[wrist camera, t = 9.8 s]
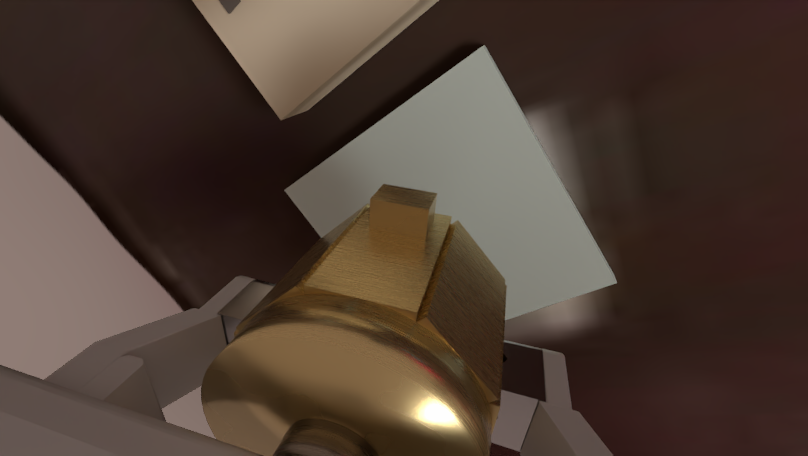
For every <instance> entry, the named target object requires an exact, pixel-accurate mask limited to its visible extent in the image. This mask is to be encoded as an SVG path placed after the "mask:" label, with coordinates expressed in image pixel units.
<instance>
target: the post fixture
mask: <svg viewBox="0 0 808 456" xmlns="http://www.w3.org/2000/svg"><path fill="white" fill-rule="evenodd" d="M192 1H193V2H194V4H195V5H196V6H197V8H198V9H199V10H200V12H201V13H202V14H203V16H204V17H205V19H206V20H207V21H208V23H209V24H210V25H211V27H212V28H213V29H214V31H215V32H216V33H217V35H218V36H219V37H220V39H221V40H222V41H223V43H224V44H225V46H226V47H227V48H228V50H229V51H230V52H231V54H232V55H233V56H234V58H235V59H236V60H237V62H238V63H239V64H240V66H241V67H242V68H243V70H244V71H245V73H246V74H247V75H248V77H249V78H250V79H251V81H252V82H253V83H254V85H255V86H256V87H257V89H258V90H259V91H260V93H261V94H262V95H263V97H264V98H265V100H266V101H267V102H268V104H269V105H270V106H271V108H272V109H273V110H274V112H275V113H276V114H277V116H278V117H279V118H280V120H283V119H286V118H289V117H291V116H294V115H297V114H300V113H302V112H305V111H308V110H309V109H310V108H311V107H313V106H314V105H315V104H316V103H317V102H319V101H320V100H321V99H322V98H323V97H324V96H326V95H327V94H328V93H329V92H330V91H332V90H333V89H334V88H335V87H336V86H338V85H339V84H340V83H341V82H342V81H344V80H345V79H346V78H347V77H348V76H349V75H351V74H352V73H353V72H354V71H355V70H357V69H358V68H359V67H360V66H361V65H363V64H364V63H365V62H366V61H367V60H368V59H370V58H371V57H372V56H373V55H374V54H376V53H377V52H378V51H379V50H380V49H382V48H383V47H384V46H385V45H386V44H388V43H389V42H390V41H391V40H392V39H393V38H395V37H396V36H397V35H398V34H399V33H401V32H402V31H403V30H404V29H405V28H407V27H408V26H409V25H410V24H411V23H413V22H414V21H415V20H416V19H417V18H418V17H420V16H421V15H422V14H423V13H424V12H426V11H427V10H428V9H429V8H430V7H432V6H433V5H434V4H435V3H436V2H437V1H439V0H192Z"/></svg>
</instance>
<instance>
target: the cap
mask: <svg viewBox="0 0 808 456" xmlns="http://www.w3.org/2000/svg"><path fill="white" fill-rule="evenodd" d="M436 200H437V193H433V192H427V191H422V190H416V189H410V188H405V187H399V186H393V185H388V184H383V185H382V186H381V187H380V188H379V189H378V191H377V192H376V193H375V194H374V195H373V196H372V197H371V198H370V205H369V204H368V203H367V204H366V205H365V206H363V207H362V208H361V209H359V210H358V211H357V212H355V213H354V214H353V215H351V216H350V217H349V218H347V219H346V220H345V221H343V222H342V223H341V224H339V225H338V226H337V227H335V228H334V229H333V230H331V231H330V232H329V233H327V234H326V235H325V236H323V237H322V238H321V239H319V240H318V241H317V242H316V243H315V244H314V245H313V246H312V247H311V249H310V250H309V251H308V252H307V253H306V254H305V255H304V256H303V257H302V258H301V259H300V260H299V261H298V262H297V263H296V264H295V265H294V266H293V267H292V268H291V270H290V271H289V272H288V273H287V274H286V275H285V276H284V277H283V278H282V279H281V280H280V281H279V282H278V283H277V284H276V285H275V286H274V287H273V288H272V290H271V291H270V292H269V293H268V294H267V295H266V296H265V297H264V298H263V299H262V300H261V301H260V302H259V303H258V304H257V305H256V306H255V307H254V308H253V309H252V311H251V312H250V313H249V314H248V315H247V316H246V317H245V318H244V319H243V320H242V321H241V322H240V323H239V324H238V325H237V326H236V327H235V328H236V331H235V332H234V338H233V339H232V341H231V342H230V343H229V344H228V345H227V346H226V347H225V348H224V349H223V350H222V351H221V352H220V353H219V355H218V356H217V357H216V358H215V359H214V360H213V362H212V363H211V364H210V365H209V367H208V368H207V370H206V373H205V375H204V377H203V382H202V387H201V400H202V405H203V410H204V414H205V416H206V419H207V422H208V424H209V426H210V428H211V430H212V432H213V434H214V436H215V437H216V439H217V440H220V441H223V442H226V443H229V444H231V445H234V446H237V447H240V448H243V449H246V450H249V451H252V452H255V453H258V454H261V455H264V456H490V449H491V436H492V432H493V429H494V426H495V422H496V419H497V416H498V413H499V409H500V402H501V383H502V364H503V345H504V327H505V308H506V289H507V285H505V279H504V277H503V276H502V275H501V274H500V272H499V271H498V270H497V268H496V267H495V266H494V265H493V263H492V262H491V261H490V260H489V258H488V257H487V256H486V255H485V253H484V252H483V251H482V250H481V248H480V247H479V246H478V245H477V243H476V242H475V241H474V239H473V238H472V237H471V236H470V234H469V233H468V232H467V231H466V229H465V228H464V227H463V226H462V224H461V223H460V222H459V221H458V220H457V221H455V222H454V223H452V224H451V220H452V216H447V215H442V214H437V213H435V207H436Z"/></svg>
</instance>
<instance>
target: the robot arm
mask: <svg viewBox="0 0 808 456" xmlns="http://www.w3.org/2000/svg"><path fill="white" fill-rule="evenodd" d="M275 285H276V284H273V283H269V282H266V281H262V280H258V279H253V278H249V277H246V276H242V275H241V276H238V277H235V278H234V279H233V280H232V281H231V282H230V283H229V284H227V285H226V286H225V287H224V288H223V289H222V290H220V291H219V292H218V293H217V294H216V295H215V296H214V297H212V298H211V299H210V300H209V301H208V302H207V303H205V304H204V305H203V306H202V307H201V308H200V309H196V308H193V309H190V310H187V311H184V312H181V313H178V314H175V315H173V316H170V317H167V318H164V319H161V320H158V321H155V322H152V323H149V324H146V325H144V326H141V327H138V328H135V329H132V330H129V331H126V332H123V333H121V334H117V335H114V336H112V337H109V338H106V339H103V340H101V341H97V342H95V343H93V344H92V345H90V346H89V347H88V348H86V349H85V350H84V351H83V352H81V353H80V354H78V355H77V356H76V357H74V358H73V359H71V360H70V361H69V362H67V363H66V364H65V365H63V366H62V367H61V368H59V369H58V370H57V371H55V372H54V373H52V374H51V375H50V376H48V377H47V378H46V379H44V380H42V379H40V378H37V377H34V376H31V375H27V374H25V373H22V372H19V371H16V370H13V369H11V368H8V367H5V366H2V365H0V456H264V455H261V454H258V453H255V452H252V451H249V450H246V449H243V448H240V447H237V446H234V445H231V444H229V443H226V442H223V441H220V440H217V439H214V438H211V437H208V436H205V435H202V434H199V433H197V432H194V431H191V430H188V429H185V428H182V427H179V426H176V425H173V424H170V423H167V422H166V420H165V417H164V415H163V412H162V410H161V409H162V408H164V407H165V406H167V405H168V404H170V403H172V402H174V401H176V400H177V399H179V398H181V397H183V396H184V395H186V394H188V393H189V392H191V391H193V390H195V389H196V388H198V387H200V386H201V385H202V382H203V377H204V375H205V373H206V370H207V368H208V367H209V365H210V364H211V363H212V362H213V360H214V359H215V358H216V357H217V356H218V355H219V353H220V352H221V351H222V350H223V349H224V348H225V347H226V346H227V345H228V344H229V343H230V342H231V341H232V339H233V338H234V332H235V331H236V328H235V327H236V326H237V325H238V324H239V323H240V322H241V321H242V320H243V319H244V318H245V317H246V316H247V315H248V314H249V313H250V312H251V311H252V309H253V308H254V307H255V306H256V305H257V304H258V303H259V302H260V301H261V300H262V299H263V298H264V297H265V296H266V295H267V294H268V293H269V292H270V291H271V290H272V288H273V287H274V286H275ZM491 443H494V444H498V445H501V446H504V447H507V448H510V449H513V450H516V451H519V452H520V455H521V456H613V454H612V453H611V452H610V451H609V449H608V448H607V447H606V446H605V444H604V443H603V442H602V440H601V439H600V438H599V437H598V435H597V434H596V433H595V432H594V430H593V429H592V428H591V426H590V425H589V424H588V423H587V421H586V420H585V419H584V418H583V416H582V415H581V414H580V412H578V411H574V410H572V405H571V398H570V391H569V384H568V377H567V370H566V363H565V356H564V355H563V353H559V352H555V351H551V350H546V349H540V348H536V347H532V346H528V345H524V344H519V343H515V342H511V341H507V340H504V345H503V364H502V383H501V402H500V409H499V413H498V416H497V419H496V422H495V426H494V429H493V432H492V436H491Z"/></svg>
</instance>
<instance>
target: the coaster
mask: <svg viewBox="0 0 808 456" xmlns="http://www.w3.org/2000/svg"><path fill="white" fill-rule="evenodd" d="M383 184H388V185H393V186H399V187H405V188H410V189H416V190H422V191H427V192H433V193H437V200H436V207H435V213H437V214H442V215H447V216H452V220H451V224H452V223H454V222H455V221H457V220H458V221H459V222H460V223H461V224H462V226H463V227H464V228H465V229H466V231H467V232H468V233H469V234H470V236H471V237H472V238H473V239H474V241H475V242H476V243H477V245H478V246H479V247H480V248H481V250H482V251H483V252H484V253H485V255H486V256H487V257H488V258H489V260H490V261H491V262H492V263H493V265H494V266H495V267H496V268H497V270H498V271H499V272H500V274H501V275H502V276H503V277H504V279H505V285H507V289H506V308H505V320H508V319H511V318H514V317H517V316H520V315H523V314H526V313H529V312H532V311H535V310H538V309H541V308H544V307H547V306H550V305H553V304H556V303H559V302H562V301H565V300H568V299H571V298H574V297H577V296H580V295H583V294H586V293H589V292H592V291H595V290H598V289H601V288H604V287H607V286H610V285H613V284H616V283H617V281H616V278H615V276H614V273H613V272H612V270H611V268H610V266H609V265H608V263H607V261H606V259H605V257H604V256H603V254H602V252H601V250H600V249H599V247H598V245H597V243H596V242H595V240H594V238H593V236H592V234H591V233H590V231H589V229H588V227H587V226H586V224H585V222H584V220H583V218H582V217H581V215H580V213H579V211H578V210H577V208H576V206H575V204H574V202H573V201H572V199H571V197H570V195H569V194H568V192H567V190H566V188H565V186H564V185H563V183H562V181H561V179H560V178H559V176H558V174H557V172H556V170H555V169H554V167H553V165H552V163H551V162H550V160H549V158H548V156H547V155H546V153H545V151H544V149H543V147H542V146H541V144H540V142H539V140H538V139H537V137H536V135H535V133H534V131H533V130H532V128H531V126H530V124H529V123H528V121H527V119H526V117H525V115H524V114H523V112H522V110H521V108H520V107H519V105H518V103H517V101H516V99H515V98H514V96H513V94H512V92H511V91H510V89H509V87H508V85H507V83H506V82H505V80H504V78H503V76H502V75H501V73H500V71H499V69H498V68H497V66H496V64H495V62H494V60H493V59H492V57H491V55H490V53H489V52H488V50H487V48H486V46H485V45H483V46H482V47H481V48H479V49H478V50H476V51H475V52H474V53H472V54H471V55H470V56H468V57H467V58H465V59H464V60H463V61H461V62H460V63H458V64H457V65H456V66H454V67H453V68H452V69H450V70H449V71H447V72H446V73H445V74H443V75H442V76H441V77H439V78H438V79H436V80H435V81H434V82H432V83H431V84H430V85H428V86H427V87H425V88H424V89H423V90H421V91H420V92H419V93H417V94H416V95H414V96H413V97H412V98H410V99H409V100H408V101H406V102H405V103H403V104H402V105H401V106H399V107H398V108H397V109H395V110H394V111H392V112H391V113H390V114H388V115H387V116H386V117H384V118H383V119H381V120H380V121H379V122H377V123H376V124H375V125H373V126H372V127H370V128H369V129H368V130H366V131H365V132H363V133H362V134H361V135H359V136H358V137H357V138H355V139H354V140H352V141H351V142H350V143H348V144H347V145H346V146H344V147H343V148H341V149H340V150H339V151H337V152H336V153H335V154H333V155H332V156H330V157H329V158H328V159H326V160H325V161H324V162H322V163H321V164H319V165H318V166H317V167H315V168H314V169H313V170H311V171H310V172H308V173H307V174H306V175H304V176H303V177H302V178H300V179H299V180H297V181H296V182H295V183H293V184H292V185H291V186H289V187H288V188H286V189H285V190H284V191H285V192H286V193H287V194H288V196H289V197H290V198H291V200H292V201H293V202H294V203H295V205H296V206H297V207H298V209H299V210H300V211H301V212H302V214H303V215H304V216H305V218H306V219H307V220H308V221H309V223H310V224H311V225H312V227H313V228H314V229H315V230H316V232H317V233H318V234H319V236H320V237H321V238H322V237H323V236H325V235H326V234H327V233H329V232H330V231H331V230H333V229H334V228H335V227H337V226H338V225H339V224H341V223H342V222H343V221H345V220H346V219H347V218H349V217H350V216H351V215H353V214H354V213H355V212H357V211H358V210H359V209H361V208H362V207H363V206H365V205H366V204H367V203H368V204H369V205H370V198H371V197H372V196H373V195H374V194H375V193H376V192H377V191H378V189H379V188H380V187H381V186H382V185H383Z"/></svg>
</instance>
